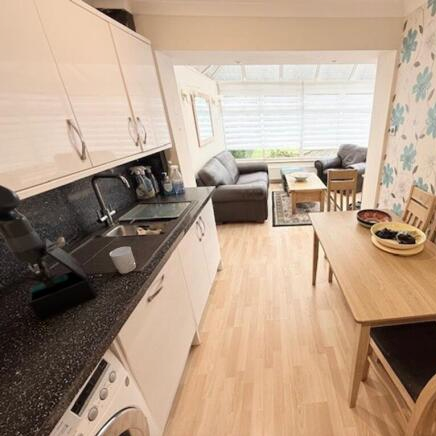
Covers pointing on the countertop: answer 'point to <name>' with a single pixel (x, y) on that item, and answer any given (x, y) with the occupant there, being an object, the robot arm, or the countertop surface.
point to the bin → (61, 296)
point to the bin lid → (63, 257)
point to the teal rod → (56, 280)
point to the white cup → (123, 259)
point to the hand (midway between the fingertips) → (51, 285)
